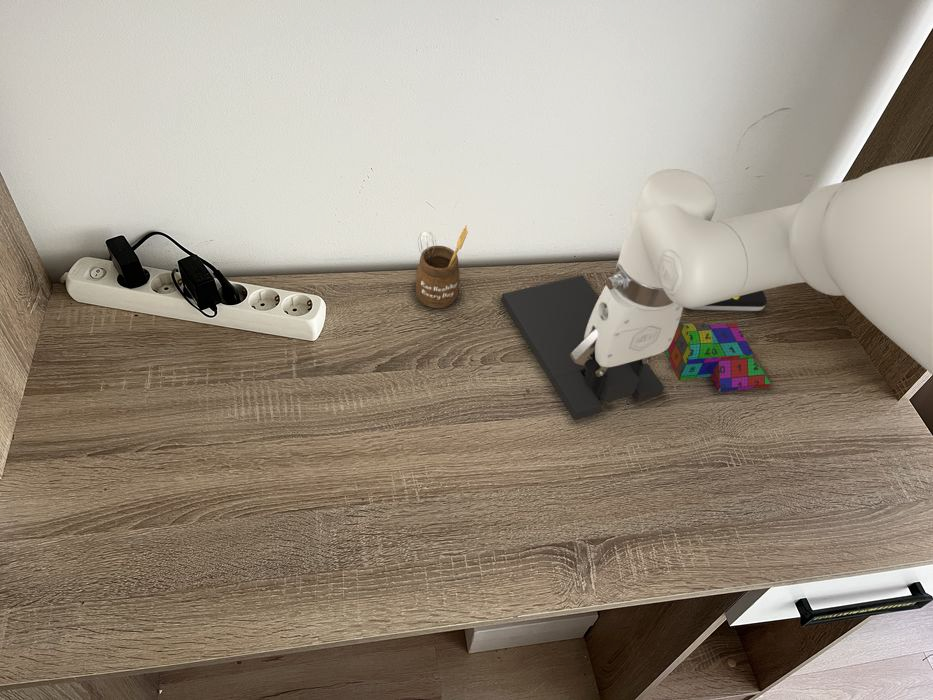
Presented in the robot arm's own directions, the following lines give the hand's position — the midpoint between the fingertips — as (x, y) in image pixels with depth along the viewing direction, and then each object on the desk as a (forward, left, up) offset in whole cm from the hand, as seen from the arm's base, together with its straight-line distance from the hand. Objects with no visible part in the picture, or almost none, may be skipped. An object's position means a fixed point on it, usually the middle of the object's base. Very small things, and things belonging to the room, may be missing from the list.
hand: (610, 381), depth 96 cm
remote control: (-3, -27, -2) cm, 27 cm away
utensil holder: (+27, +2, -2) cm, 27 cm away
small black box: (0, 0, -1) cm, 1 cm away
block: (-9, -14, -2) cm, 16 cm away
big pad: (+7, -4, -2) cm, 8 cm away
